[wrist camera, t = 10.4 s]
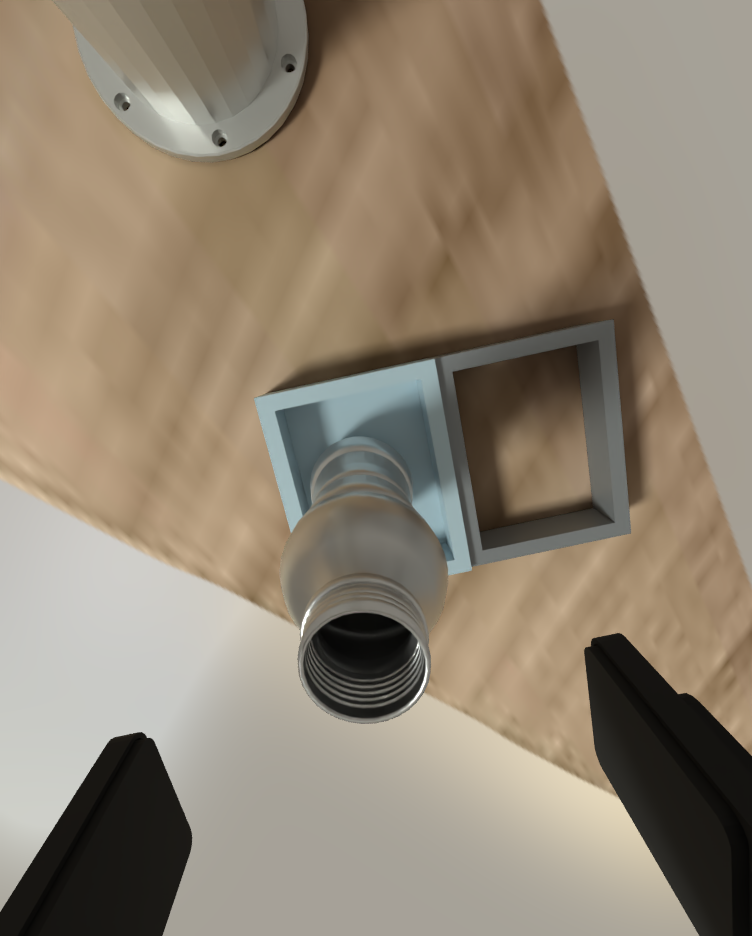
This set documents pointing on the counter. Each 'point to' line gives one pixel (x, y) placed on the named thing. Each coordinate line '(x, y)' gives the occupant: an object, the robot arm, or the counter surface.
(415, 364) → the bin
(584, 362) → the bin
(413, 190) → the counter surface
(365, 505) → the plastic bottle
